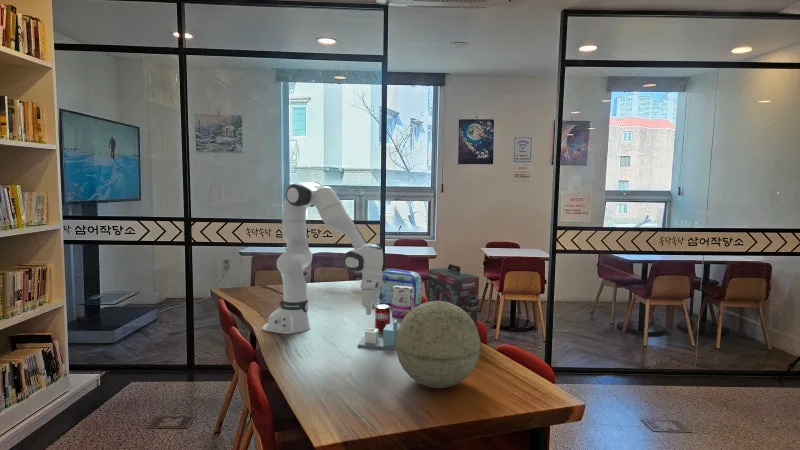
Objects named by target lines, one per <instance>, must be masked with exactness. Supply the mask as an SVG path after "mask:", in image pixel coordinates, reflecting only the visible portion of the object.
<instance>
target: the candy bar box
mask: <svg viewBox="0 0 800 450" xmlns="http://www.w3.org/2000/svg"><path fill="white" fill-rule="evenodd" d="M414 308H415V306H414V287H409V286H398V285H395V286H393V287H392V305H391V317H393V318H399V319H400V318H401V319H404V317H405V316H406V315H407V314H408V313H409V312H410V311H411V310H412V309H414Z"/></svg>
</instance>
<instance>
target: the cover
mask: <svg viewBox="0 0 800 450" xmlns="http://www.w3.org/2000/svg"><path fill="white" fill-rule="evenodd" d="M398 329H399V325H398V319H394V321H393V323H392V324H391V323H390V324H387V325H386V326H385V328H384V330H383V333H382V338H383V345H393V346H394V345H395V340H396V336H397V332H398Z"/></svg>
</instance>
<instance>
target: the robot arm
mask: <svg viewBox="0 0 800 450" xmlns="http://www.w3.org/2000/svg"><path fill="white" fill-rule="evenodd" d="M309 207H310V208H313V207H315V208H316V209H317V212H318V214H319V216H320V218H321V220H322V221H323V223H324V225H326V227H328V228H329V229H332V230H336V231H339V232H341V233H343V234H344V235H345V236H346V237H347V238H348V240H349V242H350V244H351V245H352V247H353V249H352V250H349V251H347V252H346V253H345V254H344V255H343V258H342V263H343V264H342V265H343V266H344V268H345V270H347V271H349V272H362V278H361V283H360V289H361V305H362V306H363V307H364V308H365V313H366V314H365V315H366V316H370V315H371V314H372V310H375V308H376V306H377V302H378V299H379V296H380V286H382V276H383V274H382V271H383V266H384V253H383V248H382V247H381V245H379V244H375V243H368V242H367V241H366V239H365V238H364V236H363V234H362V233H361V231H360V230H359V228H358V226H357V225H356V223H355V221H354V220H353V219H352V218H351V217H350V215H349V214H348V213H347V210H345V208H344V205H343V204H342V201H341V199H339V196H338V195H337V194H336V192H335V191H334V189H333V188H332V187H330V186H327V185H323V184H322V183H319V182H310V181H309V182H307V181H306V182H295V183H292V184H291V185H289V186H288V187H287V189H286V191H285V199H284V201H283V205H282V214H281V215H282V216H281V223H282V225H281V226H282V227H281V228H282V231H281V232H282V238H283V240H284V241H285V245H286V248H287V251H284V252H282V254H280V255H279V257H277V259H276V268H277V270H278V271H279V272H280V275H281V280H282V284H283V298H282V300H280V301H279V302H278V305H279V306H280V307H278V308H277V309H276V310H274V312H272V313H270V315H269V317H268V319H267V323H266V324H264V325H263V326H262V331H265V332H272V333H278V334H283V335H291V334H296V333H302V332H307V331H308V330H310V329H311V325H310V320H309V315H308V310H309V300H308V283H307V281H306V280H305V275H304V269H306V268H307V267H308V266H309V265H310V264H311V262H312V260H313V253H312V252H311V250H310V247H309V243H308V242H309V241H308V238H307V236H308V235H307V222H306V221H307V219H306V211H307V209H308V208H309Z"/></svg>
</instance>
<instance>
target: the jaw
mask: <svg viewBox="0 0 800 450" xmlns="http://www.w3.org/2000/svg"><path fill="white" fill-rule="evenodd" d="M379 333H380V332H379V329H375V328H368V327H367V329H366V330H365V331H364V336H365V343H375V344H376V343H377V341H378V337H379V335H380V334H379Z"/></svg>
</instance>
